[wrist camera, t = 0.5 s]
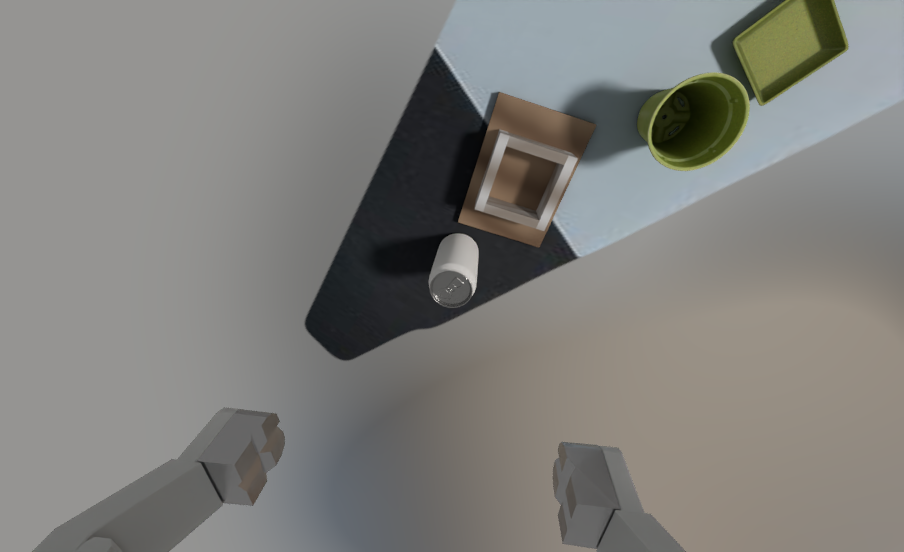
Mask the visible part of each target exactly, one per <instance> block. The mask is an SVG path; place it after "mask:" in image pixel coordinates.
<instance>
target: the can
mask: <svg viewBox="0 0 904 552" xmlns="http://www.w3.org/2000/svg"><path fill="white" fill-rule="evenodd" d="M478 254H479V252H478V247H477V244H476V243H475V241H474V240H473V239H472V238H471V237H469V236H467V235H465V234H460V233H456V234H451V235H449V236H447V237H445V238H444V239H443V240H442V242H441V243H440V245H439V248H438V251H437V254H436V257H435V260H434V263H433V267H432V270H431V273H430V277H429V287H430V293H431V295H432V297H433V299H434V300H435V301H436V302H437V303H439V304H440V305H442V306H445V307H449V308H456V307H460V306H463V305H464V304H466V303H467V302H468V301H469V300H470V298H471V296H472V295H473V293H474V291H475V288H476V282H477V269H478Z"/></svg>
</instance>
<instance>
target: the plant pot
mask: <svg viewBox="0 0 904 552" xmlns="http://www.w3.org/2000/svg"><path fill="white" fill-rule="evenodd" d="M677 98H680V99H682V100H683V101H684V107H682V106H681V104H680V102H679V101H678V99H677ZM749 110H750V104H749V98H748V94H747V92H746V89H745V88H744V86H743V85H742V84H741V83H740V82H739V81H738V80H737V79H735V78H734V77H732V76H730V75H727V74H723V73H704V74H700V75H696V76H693V77H691V78H688V79H687V80H685V81H683V82H681V83H680V84H678V85H677V86H675V87H674V88H671V89H667V90H663V91H661V92H658V93H656V94H655V95H653V96H652V97H650V98H649V99H648V100H647V101H646V102H645V104H644V105H643V106H642V108H641V110H640V112H639V116H638V121H637V129H638V132H639V134H640V135H641V137H642V138H643V139H644V140H645V141H646V142H647V143H648V146H649V149H650V151H651V153H652V155H653V157H654V158H655V159H656V160H657V161H658V162H659V163H661V164H662V165H664V166H665V167H667V168H670V169H673V170H678V171H690V170H696V169H699V168H702V167H705V166H707V165H709V164H711V163H713V162H715V161H717V160H718V159H719V158H721V157H722V156H723V155H725V154H726V153H727V152H728V151H729V150H730V149H731V148H732V147H733V146H734V144H735V143H736V142H737V141H738V139H739V138H740V136H741V135H742V132H743V131H744V128H745V126H746V123H747V121H748V116H749ZM664 115H666V116H667V117H666V119H664V120H663V119H662V117H663V116H664ZM677 126H679V128H678V129H677V130H676V131H675V132H674V133H673V134H671V135H669V133H670V132H671V131H673V130H674V129H675V128H676V127H677Z"/></svg>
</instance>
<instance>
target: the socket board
mask: <svg viewBox="0 0 904 552" xmlns="http://www.w3.org/2000/svg"><path fill="white" fill-rule="evenodd" d="M595 127H596V124H593V123H590V122H587V121H584V120H581V119H578V118H575V117H572V116H569V115H566V114H563V113H560V112H557V111H554V110H551V109H549V108H546V107H543V106H540V105H537V104H534V103H531V102H528V101H525V100H522V99H519V98H516V97H513V96H510V95H507V94H504V93H501V92H499V94H498V97H497V100H496V103H495V106H494V110H493V113H492V116H491V119H490V122H489V125H488V129H487V132H486V135H485V138H484V141H483V144H482V147H481V151H480V154H479V157H478V160H477V163H476V166H475V170H474V173H473V176H472V179H471V182H470V185H469V188H468V192H467V195H466V198H465V201H464V204H463V207H462V211H461V214H460V217H459V220H458V222H459V223H462V224H465V225H469V226H472V227H475V228H478V229H481V230H485V231H488V232H491V233H494V234H497V235H501V236H504V237H507V238H510V239H513V240H517V241H520V242H523V243H526V244H529V245H533V246H536V247H540V245H541V243H542V240H543V238H544V236H545V234H546V232H547V230H548V228H549V225H550V223H551V221H552V219H553V217H554V215H555V213H556V210H557V208H558V206H559V204H560V202H561V200H562V198H563V196H564V193H565V191H566V189H567V187H568V185H569V183H570V181H571V178H572V176H573V174H574V172H575V170H576V168H577V166H578V163H579V161H580V159H581V157H582V155H583V153H584V151H585V149H586V146H587V144H588V142H589V140H590V138H591V136H592V134H593V131H594V129H595Z"/></svg>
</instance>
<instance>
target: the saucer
mask: <svg viewBox="0 0 904 552" xmlns="http://www.w3.org/2000/svg"><path fill="white" fill-rule="evenodd" d="M733 46H734V49H735V51H736V53H737V55H738V58H739V60H740V62H741V64H742V67H743V69H744V71H745V74H746V76H747V78H748V80H749V83H750V85H751V87H752V89H753V92H754V94H755V96H756V99H757V101H758V103H759V105H761V106H762V105H765V104H767V103H768V102H770V101H771V100H773V99H774V98H776V97H777V96H779V95H780V94H782V93H783V92H785V91H786V90H788V89H789V88H791V87H792V86H794V85H795V84H797V83H798V82H800V81H802V80H803V79H804V78H806V77H808V76H809V75H811V74H812V73H814V72H815V71H817V70H818V69H820V68H821V67H823V66H824V65H826V64H827V63H829V62H831V61H832V60H834V59H835V58H837V57H838V56H840V55H841V54H843V53H844V52H846V51H847V50H848V41H847V38H846V35H845V32H844V29H843V26H842V23H841V21H840V17H839V14H838V11H837V8H836V5H835V2H834V0H785V1H784V2H782V3H781V4H780V5H778V6H777V7H776V8H774V9H773V10H771V11H770V12H769V13H768V14H766V15H765V16H764V17H762V18H761V19H759V20H758V21H757V22H756V23H754V24H753V25H751V26H750V27H749V28H747V29H746V30H745V31H743V32H742V33H741V34H739V35H738V36H737V37H736V38H735V39H734V40H733Z"/></svg>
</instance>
